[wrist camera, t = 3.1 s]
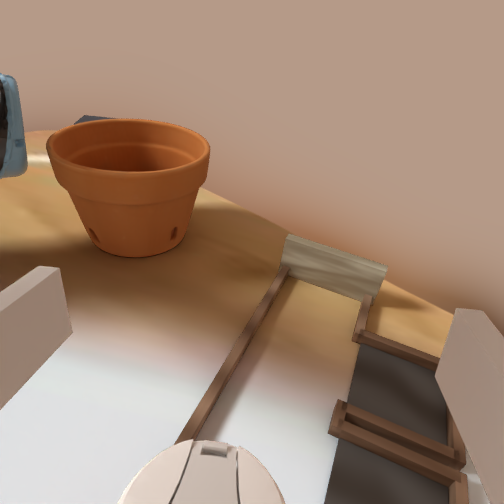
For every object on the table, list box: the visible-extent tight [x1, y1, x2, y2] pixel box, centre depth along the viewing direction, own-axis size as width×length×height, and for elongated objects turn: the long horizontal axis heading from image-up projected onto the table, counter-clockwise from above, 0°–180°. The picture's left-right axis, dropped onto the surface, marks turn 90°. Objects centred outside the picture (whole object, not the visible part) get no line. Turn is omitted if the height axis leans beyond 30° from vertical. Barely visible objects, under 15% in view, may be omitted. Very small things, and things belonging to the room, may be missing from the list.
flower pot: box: [46, 119, 210, 257], centre depth 55 cm, size 21×21×15 cm
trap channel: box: [174, 234, 469, 504], centre depth 34 cm, size 46×24×6 cm, turn 157°
